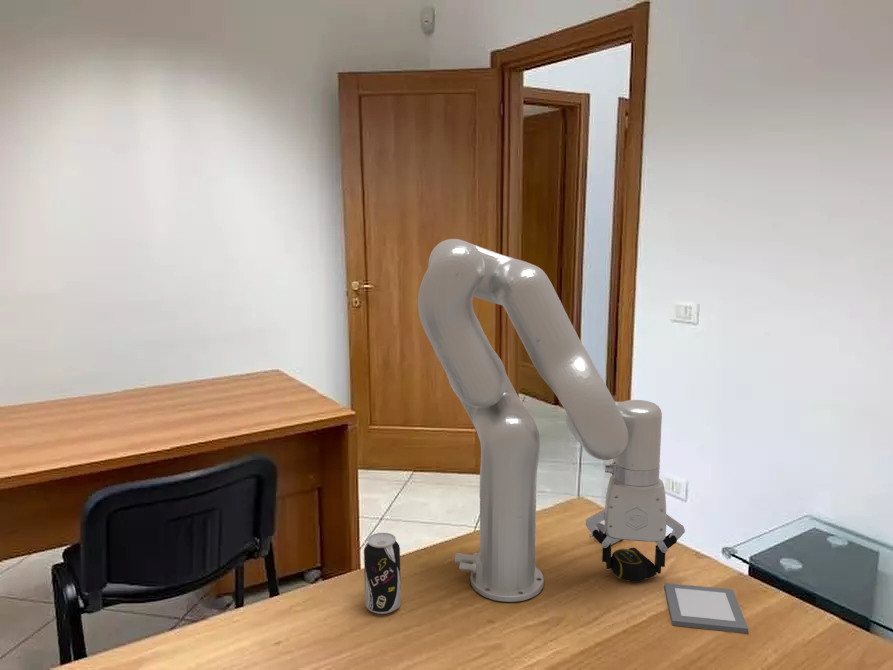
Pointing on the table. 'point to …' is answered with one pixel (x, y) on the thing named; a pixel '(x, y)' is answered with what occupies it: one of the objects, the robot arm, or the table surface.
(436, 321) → the robot arm
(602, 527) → the usb wall charger
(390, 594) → the beverage can
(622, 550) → the tape measure
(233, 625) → the table surface
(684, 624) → the coaster
